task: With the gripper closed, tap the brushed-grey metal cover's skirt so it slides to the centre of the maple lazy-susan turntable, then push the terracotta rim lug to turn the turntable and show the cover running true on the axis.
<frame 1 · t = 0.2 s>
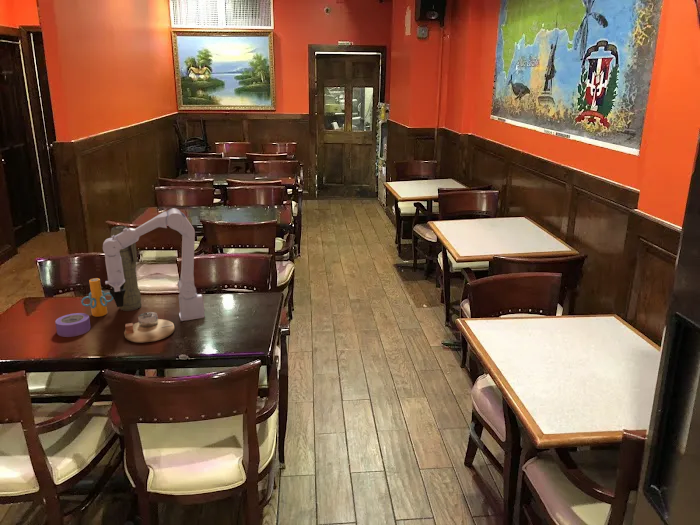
hand: (120, 302, 218), 10 cm above the table, fingers open, 7 cm apart
turntable: (149, 326, 214), point 3 cm above the table, hinge at 0.0°, touching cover
thermos: (130, 307, 239), on the table
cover: (148, 323, 219), point 2 cm above the table, touching turntable
cylinder: (100, 314, 232), on the table
tape roll: (74, 331, 218), on the table
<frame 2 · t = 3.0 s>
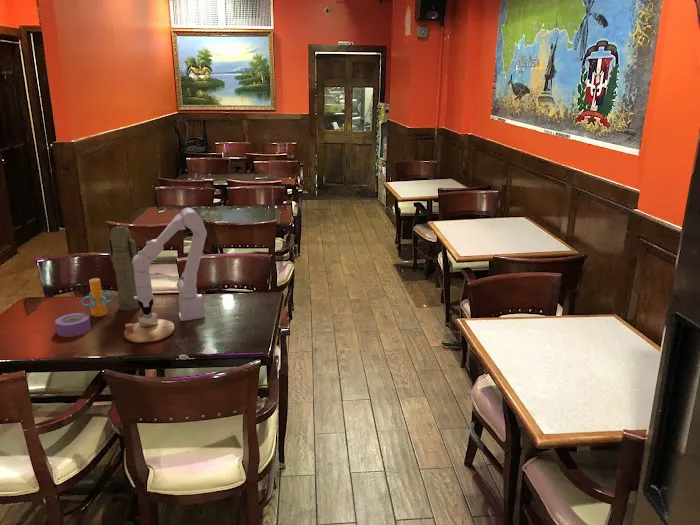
hand: (147, 317, 222), 3 cm above the table, fingers closed
turntable: (149, 326, 214), point 3 cm above the table, hinge at 0.0°
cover: (148, 324, 218), point 2 cm above the table, touching gripper
everything else where it was.
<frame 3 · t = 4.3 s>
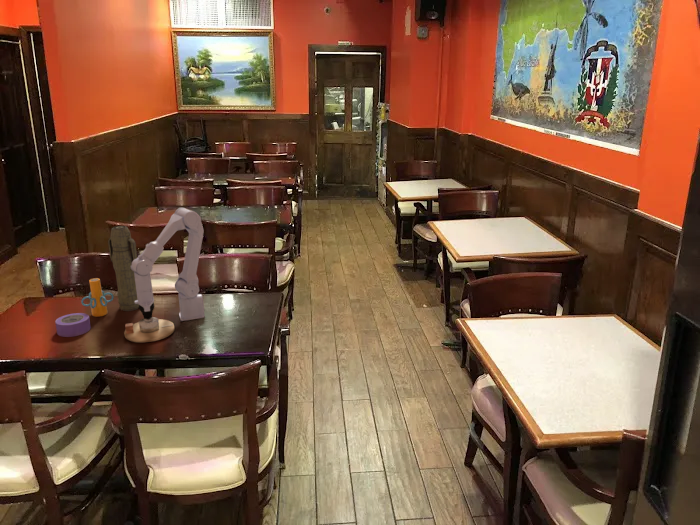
hand: (148, 322, 218), 3 cm above the table, fingers closed
turntable: (149, 326, 214), point 3 cm above the table, hinge at 0.0°, touching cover
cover: (149, 329, 214), point 2 cm above the table, touching gripper, turntable
everything else where it was.
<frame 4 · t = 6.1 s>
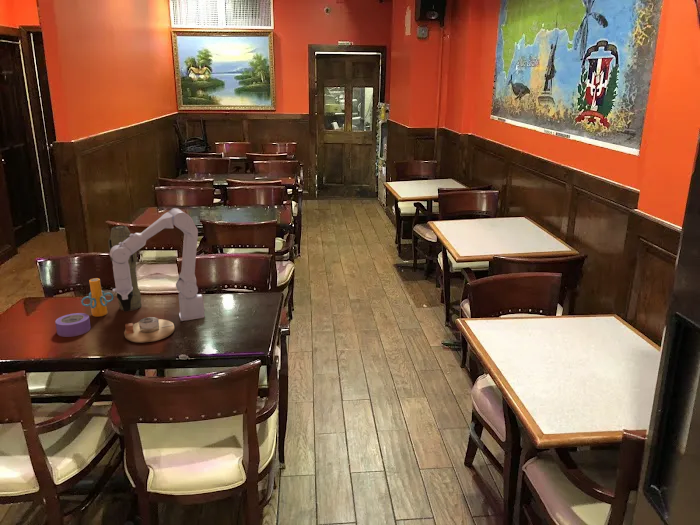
hand: (127, 310, 215), 8 cm above the table, fingers closed
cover: (149, 329, 214), point 2 cm above the table, touching turntable
everything else where it was.
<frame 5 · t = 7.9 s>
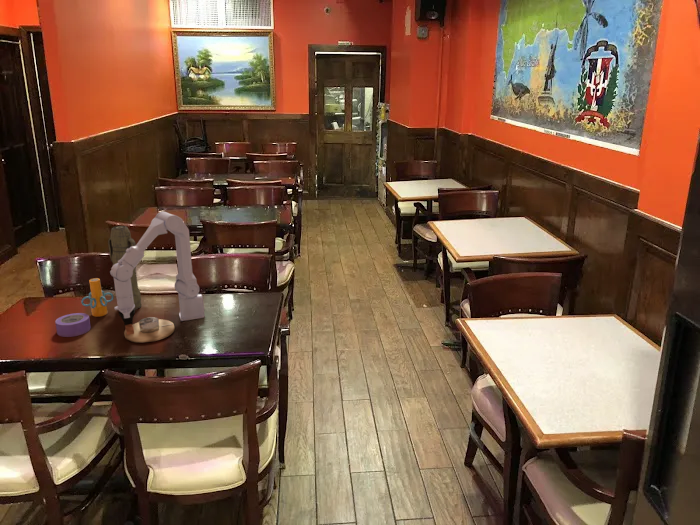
hand: (129, 328, 213), 3 cm above the table, fingers closed, pressing on turntable
turntable: (149, 326, 214), point 3 cm above the table, hinge at 6.8°, touching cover, gripper
everything else where it was.
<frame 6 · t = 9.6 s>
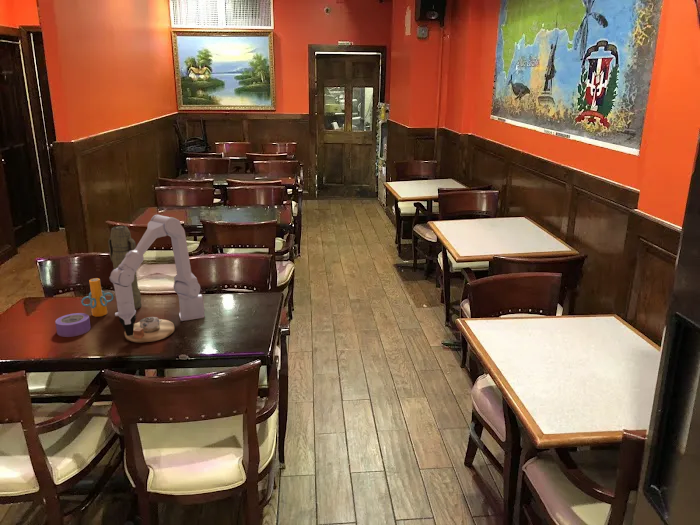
hand: (130, 334, 207), 3 cm above the table, fingers closed
turntable: (149, 326, 214), point 3 cm above the table, hinge at 55.5°, touching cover, gripper
everything else where it was.
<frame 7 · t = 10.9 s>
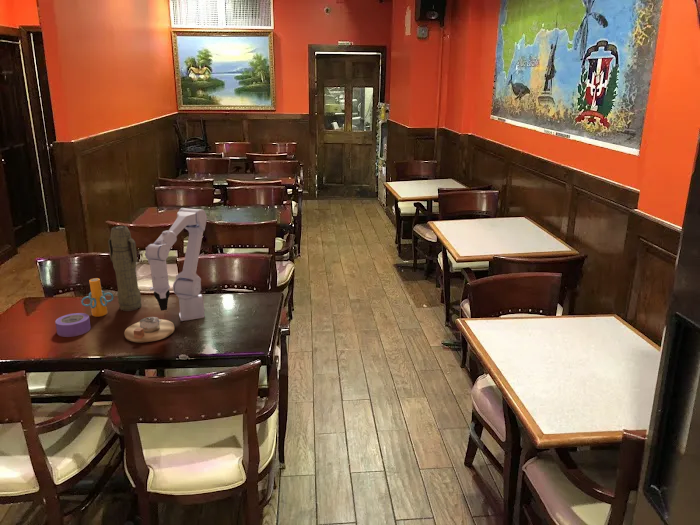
hand: (163, 309, 212), 9 cm above the table, fingers closed
turntable: (149, 326, 214), point 3 cm above the table, hinge at 55.9°, touching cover
everything else where it was.
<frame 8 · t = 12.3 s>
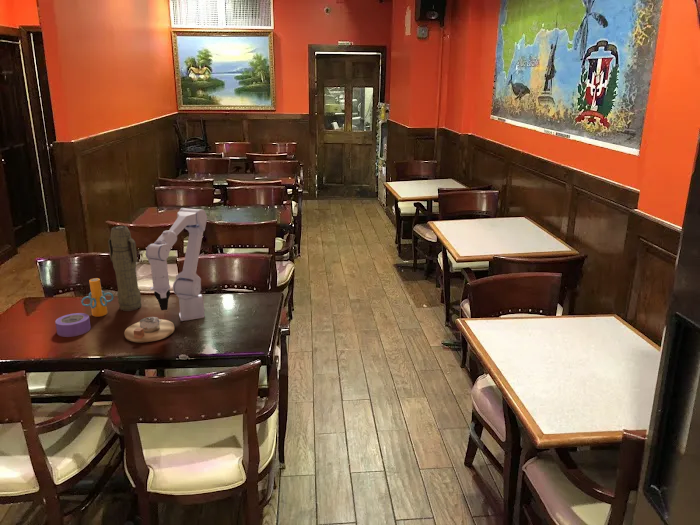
hand: (164, 309, 212), 9 cm above the table, fingers closed
nothing on the table moved.
at the end: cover 0.3 cm from the turntable (horizontally); turntable at +56° (first picture: +0°); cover tilted 0° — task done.
